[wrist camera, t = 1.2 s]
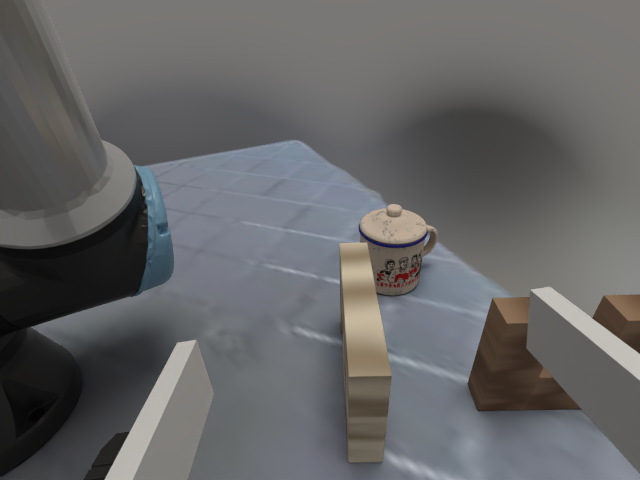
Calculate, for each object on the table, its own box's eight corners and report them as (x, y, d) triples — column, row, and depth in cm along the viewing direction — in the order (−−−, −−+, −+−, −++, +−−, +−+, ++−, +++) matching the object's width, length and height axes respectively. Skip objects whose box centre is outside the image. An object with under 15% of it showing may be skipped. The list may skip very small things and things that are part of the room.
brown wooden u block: (477, 410, 36) (507, 323, 29) (467, 383, 38) (492, 298, 32) (623, 408, 35) (686, 319, 29) (603, 381, 38) (657, 294, 31)
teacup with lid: (375, 305, 49) (380, 231, 42) (347, 267, 56) (347, 199, 50) (450, 282, 52) (465, 210, 46) (415, 249, 59) (423, 183, 53)
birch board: (382, 462, 32) (391, 375, 25) (348, 462, 32) (348, 376, 26) (364, 321, 46) (367, 242, 40) (340, 321, 46) (339, 243, 40)
